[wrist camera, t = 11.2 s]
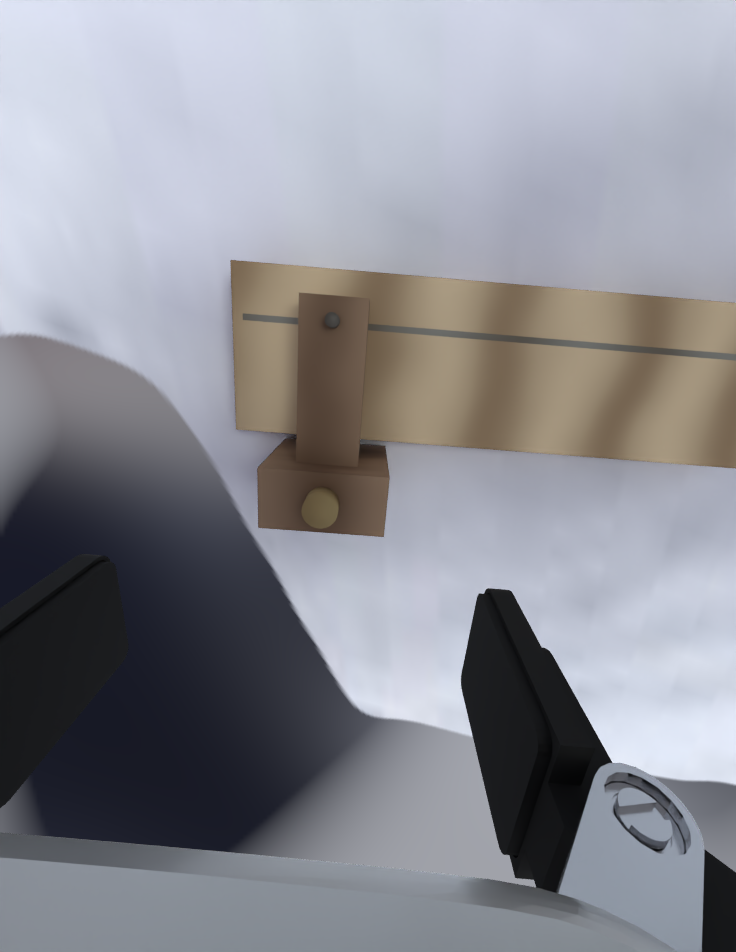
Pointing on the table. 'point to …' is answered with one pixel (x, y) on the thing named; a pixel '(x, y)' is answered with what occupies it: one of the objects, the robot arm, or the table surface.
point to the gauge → (327, 431)
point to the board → (503, 365)
